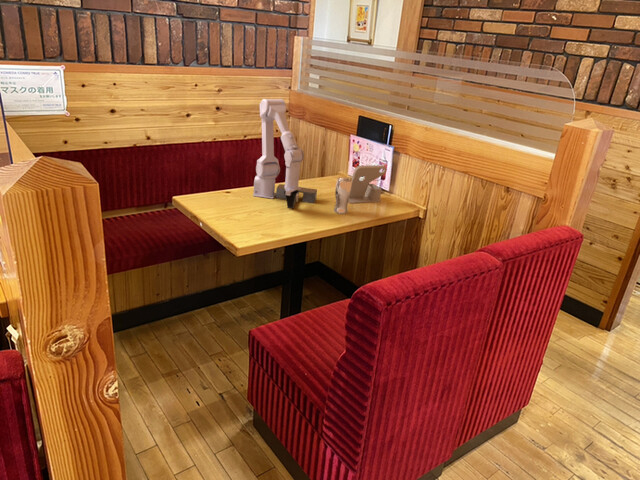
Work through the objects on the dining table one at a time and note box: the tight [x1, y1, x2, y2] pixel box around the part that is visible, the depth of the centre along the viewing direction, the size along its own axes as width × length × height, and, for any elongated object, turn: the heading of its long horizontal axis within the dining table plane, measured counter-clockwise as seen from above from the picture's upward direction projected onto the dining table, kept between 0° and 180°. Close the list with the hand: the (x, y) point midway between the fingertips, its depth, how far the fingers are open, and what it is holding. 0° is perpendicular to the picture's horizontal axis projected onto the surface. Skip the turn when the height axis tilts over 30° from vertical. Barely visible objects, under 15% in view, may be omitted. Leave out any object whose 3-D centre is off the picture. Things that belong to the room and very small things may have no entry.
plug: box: [287, 192, 300, 209], centre depth 224 cm, size 4×14×4 cm, turn 175°
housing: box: [275, 183, 318, 204], centre depth 230 cm, size 18×6×5 cm, turn 82°
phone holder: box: [348, 164, 387, 205], centre depth 236 cm, size 17×10×18 cm, turn 114°
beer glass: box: [333, 176, 352, 215], centre depth 218 cm, size 7×7×15 cm
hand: (290, 206), depth 217 cm, fingers closed
